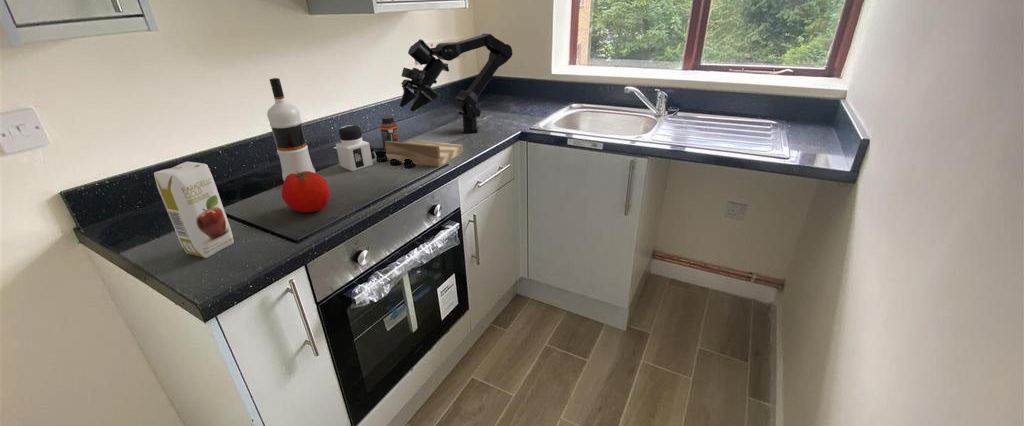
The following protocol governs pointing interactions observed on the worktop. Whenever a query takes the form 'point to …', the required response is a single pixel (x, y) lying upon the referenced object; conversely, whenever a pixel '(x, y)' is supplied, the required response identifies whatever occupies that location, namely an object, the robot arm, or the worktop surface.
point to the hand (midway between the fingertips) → (405, 108)
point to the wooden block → (423, 152)
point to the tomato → (305, 191)
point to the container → (353, 149)
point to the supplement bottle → (389, 130)
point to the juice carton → (195, 208)
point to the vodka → (288, 134)
